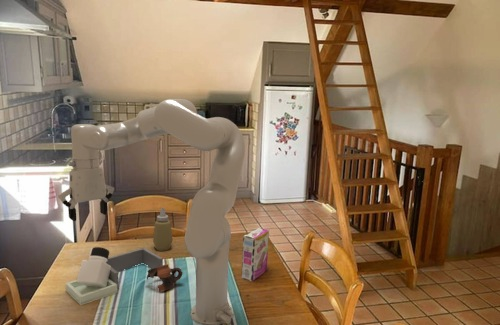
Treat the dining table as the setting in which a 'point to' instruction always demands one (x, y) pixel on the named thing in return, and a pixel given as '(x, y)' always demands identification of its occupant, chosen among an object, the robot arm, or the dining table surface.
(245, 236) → the candy bar box
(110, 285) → the tray
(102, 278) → the medicine bottle
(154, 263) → the bay
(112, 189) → the robot arm
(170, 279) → the brown mug
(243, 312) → the dining table surface
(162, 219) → the squeeze bottle
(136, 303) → the dining table surface
